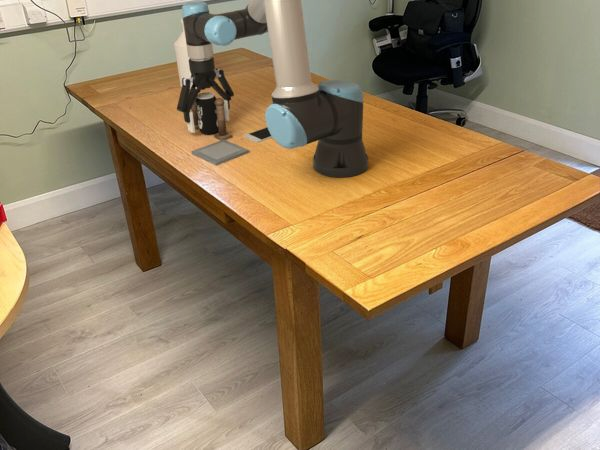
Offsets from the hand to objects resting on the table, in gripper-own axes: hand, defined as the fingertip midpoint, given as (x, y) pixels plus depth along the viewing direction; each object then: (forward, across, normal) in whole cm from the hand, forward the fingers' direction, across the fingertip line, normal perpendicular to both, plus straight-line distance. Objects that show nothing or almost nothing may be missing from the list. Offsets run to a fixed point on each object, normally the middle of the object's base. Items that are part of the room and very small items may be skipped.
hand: (209, 125), depth 185 cm
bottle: (+2, -26, -45) cm, 52 cm away
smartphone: (+3, -12, +15) cm, 19 cm away
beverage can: (+2, 0, 0) cm, 2 cm away
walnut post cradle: (+2, 0, 0) cm, 2 cm away
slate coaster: (+2, +8, +16) cm, 18 cm away
